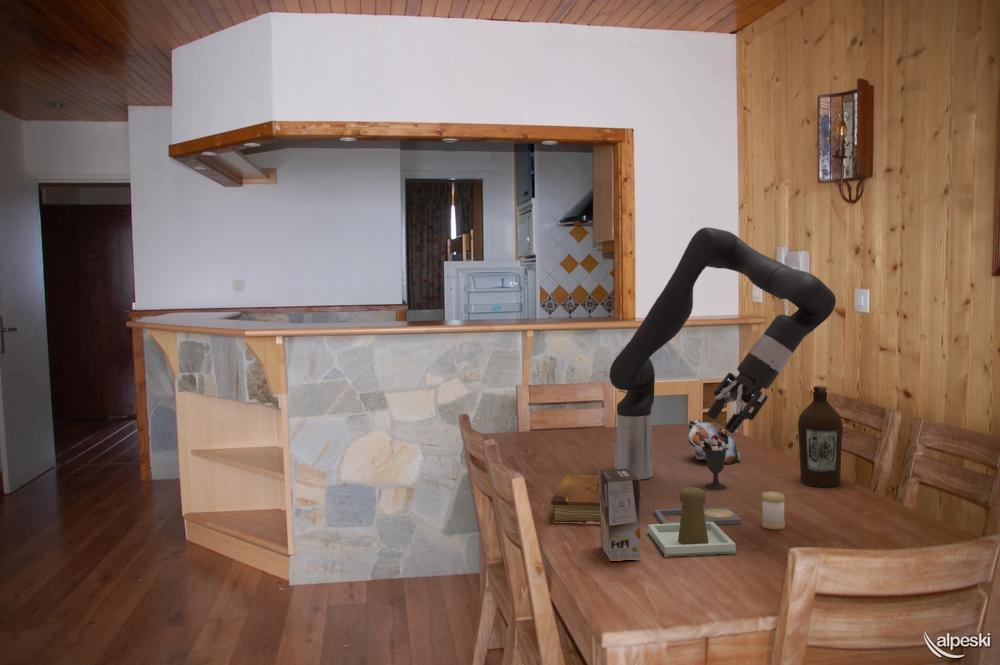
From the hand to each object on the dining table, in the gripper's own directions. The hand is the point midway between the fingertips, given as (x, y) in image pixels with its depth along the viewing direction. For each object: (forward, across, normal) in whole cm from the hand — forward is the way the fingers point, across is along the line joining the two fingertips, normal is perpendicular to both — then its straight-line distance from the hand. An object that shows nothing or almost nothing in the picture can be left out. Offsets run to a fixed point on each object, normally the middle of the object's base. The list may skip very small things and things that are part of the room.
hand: (719, 423), depth 164 cm
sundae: (+15, -28, +28) cm, 42 cm away
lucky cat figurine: (+12, -53, +40) cm, 67 cm away
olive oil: (-1, -23, +49) cm, 54 cm away
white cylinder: (+12, +4, +23) cm, 26 cm away
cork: (+23, +10, +5) cm, 25 cm away
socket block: (+21, -4, +13) cm, 25 cm away
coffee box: (+32, +11, -8) cm, 35 cm away
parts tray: (+23, +10, +5) cm, 26 cm away
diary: (+34, -17, -1) cm, 38 cm away
